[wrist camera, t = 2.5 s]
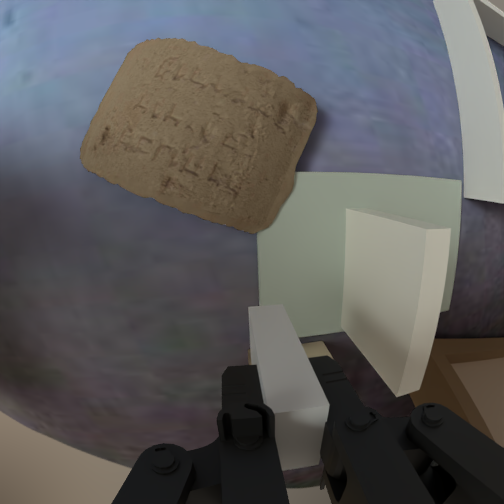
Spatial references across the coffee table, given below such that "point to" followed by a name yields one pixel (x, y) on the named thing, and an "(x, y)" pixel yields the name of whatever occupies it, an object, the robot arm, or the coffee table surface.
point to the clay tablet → (201, 133)
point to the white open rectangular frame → (477, 92)
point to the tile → (393, 292)
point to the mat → (341, 238)
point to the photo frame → (467, 382)
